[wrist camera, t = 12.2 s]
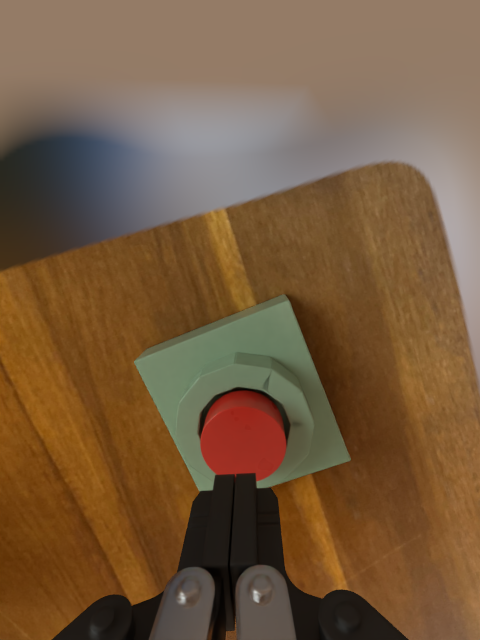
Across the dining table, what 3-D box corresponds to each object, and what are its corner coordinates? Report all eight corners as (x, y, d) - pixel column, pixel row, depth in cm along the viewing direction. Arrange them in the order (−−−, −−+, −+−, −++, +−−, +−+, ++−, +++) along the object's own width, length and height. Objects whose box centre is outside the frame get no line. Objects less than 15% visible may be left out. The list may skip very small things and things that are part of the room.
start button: (192, 405, 17) (186, 424, 15) (266, 378, 16) (267, 394, 15) (223, 469, 18) (220, 494, 16) (294, 445, 17) (299, 468, 16)
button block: (145, 349, 20) (119, 374, 16) (285, 293, 19) (293, 306, 15) (211, 482, 22) (202, 533, 18) (341, 438, 21) (361, 483, 17)
